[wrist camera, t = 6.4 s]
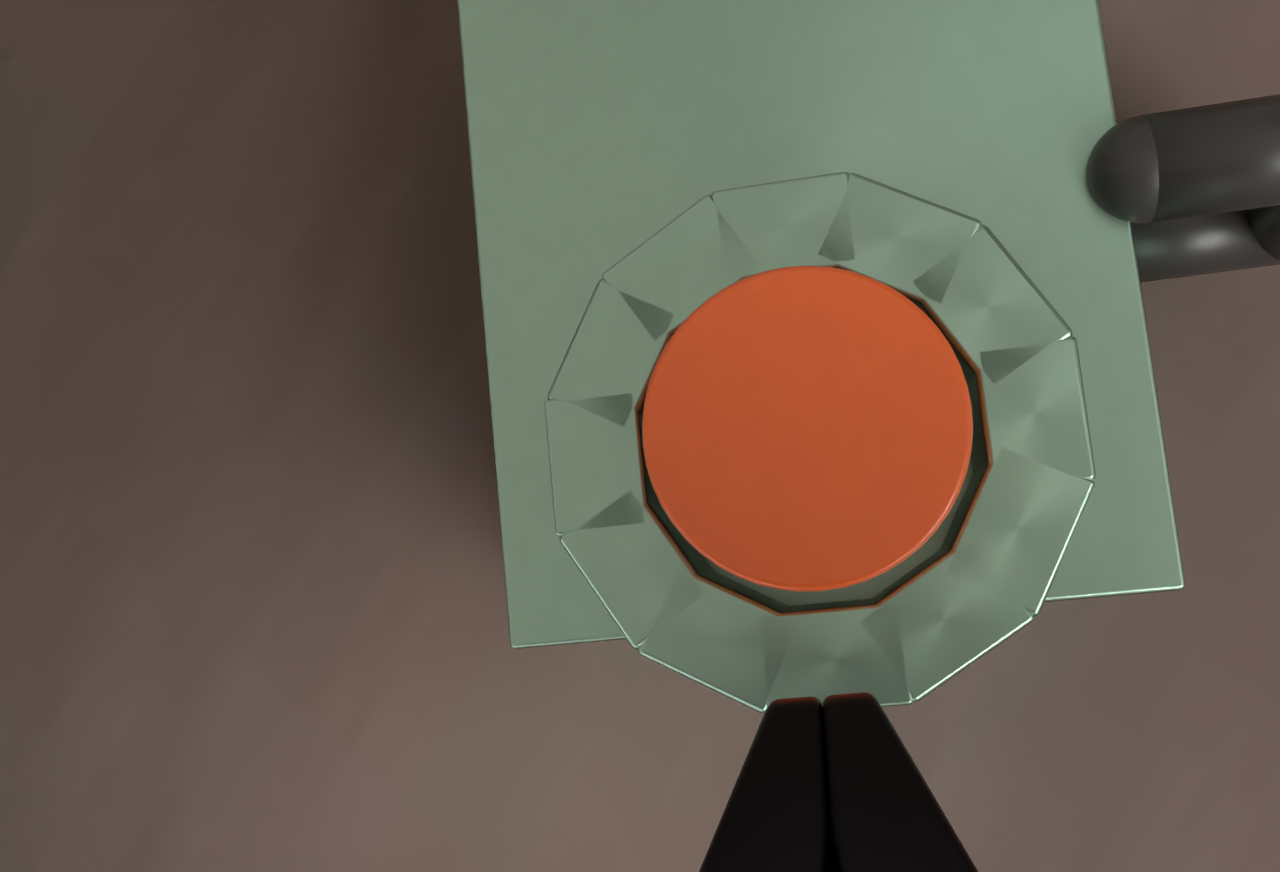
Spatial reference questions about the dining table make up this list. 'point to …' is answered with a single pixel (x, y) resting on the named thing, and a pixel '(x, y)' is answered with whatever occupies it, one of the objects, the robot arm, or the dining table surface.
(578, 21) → the green button housing
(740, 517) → the push button
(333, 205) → the dining table surface
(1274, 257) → the handle
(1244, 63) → the dining table surface
